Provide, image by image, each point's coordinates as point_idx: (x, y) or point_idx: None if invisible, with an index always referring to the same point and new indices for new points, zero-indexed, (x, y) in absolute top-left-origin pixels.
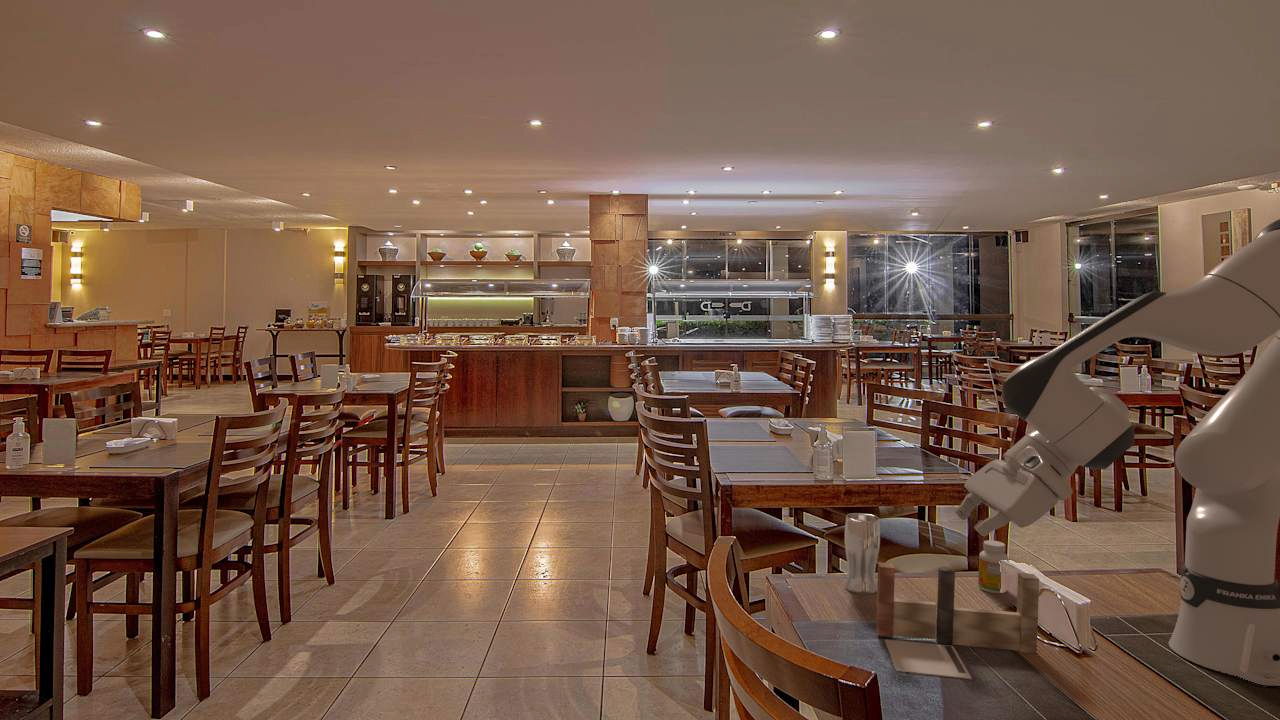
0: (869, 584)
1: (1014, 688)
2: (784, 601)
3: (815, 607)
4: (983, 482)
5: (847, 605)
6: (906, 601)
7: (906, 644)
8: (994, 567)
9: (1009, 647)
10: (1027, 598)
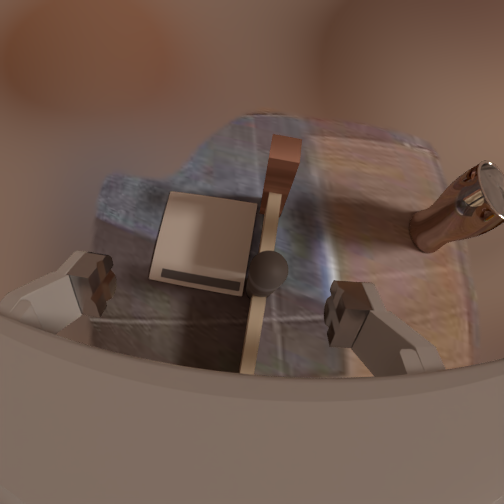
0: (420, 233)
1: (129, 323)
2: (361, 124)
3: (352, 151)
4: (411, 466)
5: (368, 193)
6: (270, 214)
7: (243, 228)
8: None
9: None
10: None
